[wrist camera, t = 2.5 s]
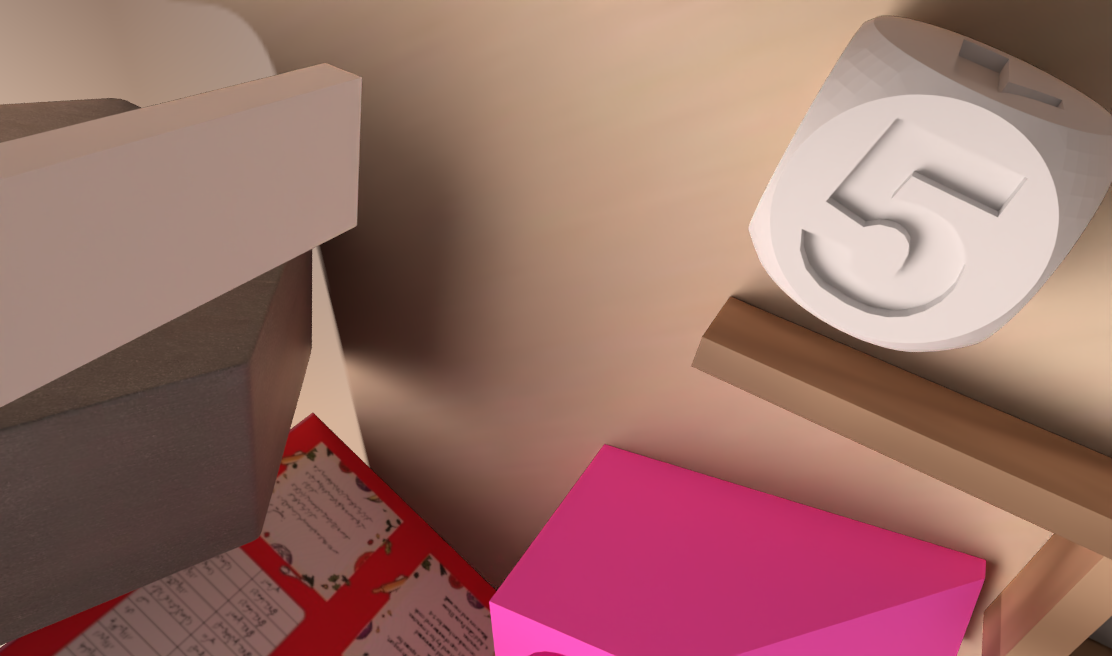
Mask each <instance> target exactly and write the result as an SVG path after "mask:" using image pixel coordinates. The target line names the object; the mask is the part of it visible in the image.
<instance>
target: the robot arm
mask: <svg viewBox="0 0 1112 656" xmlns="http://www.w3.org/2000/svg"><path fill="white" fill-rule="evenodd" d="M361 93H362V77H360V76H358V75H355V74H353V73H350V72H347V71H345V70H342V69H340V68H337V67H335V66H332V65H330V64H327V63H323V64H319V65H315V66H311V67H306V68H302V69H298V70H294V71H290V72H286V73H282V74H278V75H274V76H270V77H266V78H262V79H258V80H254V81H250V82H246V83H242V84H238V85H234V86H230V87H226V88H221V89H217V90H213V91H209V92H205V93H201V94H197V95H193V96H189V97H185V98H181V99H177V100H173V101H169V102H165V103H160V104H157V105H152V106H149V107H145V108H140V109H136V110H132V111H128V112H124V113H120V114H116V115H112V116H108V117H104V118H100V119H96V120H91V121H87V122H83V123H79V124H75V125H71V126H67V127H63V128H59V129H55V130H51V131H47V132H43V133H39V134H35V135H31V136H27V137H22V138H18V139H14V140H10V141H6V142H2V143H0V407H2V406H4V405H6V404H8V403H10V402H12V401H14V400H16V399H18V398H20V397H22V396H24V395H26V394H28V393H30V392H32V391H34V390H35V389H37V388H39V387H41V386H43V385H45V384H47V383H49V382H51V381H53V380H55V379H57V378H59V377H61V376H63V375H65V374H67V373H69V372H71V371H73V370H75V369H77V368H79V367H81V366H83V365H85V364H87V363H89V362H90V361H92V360H94V359H96V358H98V357H100V356H102V355H104V354H106V353H108V352H110V351H112V350H114V349H116V348H118V347H120V346H122V345H124V344H126V343H128V342H130V341H132V340H134V339H136V338H138V337H140V336H142V335H143V334H145V333H147V332H149V331H151V330H153V329H155V328H157V327H159V326H161V325H163V324H165V323H167V322H169V321H171V320H173V319H175V318H177V317H179V316H181V315H183V314H185V313H187V312H189V311H191V310H193V309H195V308H197V307H198V306H200V305H202V304H204V303H206V302H208V301H210V300H212V299H214V298H216V297H218V296H220V295H222V294H224V293H226V292H228V291H230V290H232V289H234V288H236V287H238V286H240V285H242V284H244V283H246V282H248V281H250V280H251V279H253V278H255V277H257V276H259V275H261V274H263V273H265V272H267V271H269V270H271V269H273V268H275V267H277V266H279V265H281V264H283V263H285V262H287V261H289V260H291V259H293V258H295V257H297V256H299V255H301V254H303V253H305V252H306V251H308V250H310V249H312V248H314V247H316V246H318V245H320V244H322V243H324V242H326V241H328V240H330V239H332V238H334V237H336V236H338V235H340V234H342V233H344V232H346V231H348V230H350V229H352V228H354V227H356V226H357V209H358V180H359V151H360V122H361Z"/></svg>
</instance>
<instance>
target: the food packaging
mask: <svg viewBox="0 0 1112 656" xmlns="http://www.w3.org/2000/svg"><path fill="white" fill-rule="evenodd" d="M495 593H496V590H495V589H494V588H493V587H492V586H490V585H489V584H488V583H487V582H486V581H485V580H484V579H483V578H482V577H481V576H480V575H479V574H478V573H477V572H476V571H475V570H474V569H473V568H472V567H471V566H470V565H469V564H468V563H467V562H466V561H465V560H464V559H463V558H462V557H461V556H460V555H459V554H458V553H457V552H456V551H455V550H454V549H453V548H451V547H450V546H449V545H448V544H447V543H446V542H445V541H444V540H443V539H442V538H441V537H440V536H439V535H438V534H437V533H436V532H435V531H434V530H433V529H432V528H431V527H430V526H429V525H428V524H427V523H426V522H425V521H424V520H423V519H422V518H421V517H420V516H419V515H418V514H417V513H416V512H415V511H413V510H412V509H411V508H410V507H409V506H408V505H407V504H406V503H405V502H404V501H403V500H402V499H401V498H400V497H399V496H398V495H397V494H396V493H395V492H394V491H393V490H392V489H391V488H390V487H389V486H388V485H387V484H386V483H385V482H384V481H383V480H382V479H381V478H380V477H379V476H378V475H377V474H376V473H374V472H373V471H372V470H371V469H370V468H369V467H368V466H367V465H366V464H365V463H364V462H363V461H362V460H361V459H360V458H359V457H358V456H357V455H356V454H355V453H354V452H353V451H352V450H351V449H350V448H349V447H348V446H347V445H346V444H344V442H343V441H342V440H341V439H339V438H338V436H336V435H335V434H334V433H333V432H332V431H331V430H330V429H329V428H328V427H327V426H326V425H325V424H324V423H323V422H322V421H321V420H320V419H319V418H318V417H317V416H316V415H315V414H314V413H312V414H310V415H309V416H308V417H306V418H305V419H304V420H302V421H301V422H300V423H299V424H297V425H296V426H294V427H293V428H292V429H290V431H289V434H288V438H287V442H286V445H285V449H284V453H283V456H282V460H281V463H280V467H279V471H278V474H277V478H276V482H275V485H274V489H273V493H272V496H271V500H270V503H269V507H268V511H267V514H266V518H265V522H264V525H263V528H262V532H261V534H260V536H259V538H257V539H256V540H254V541H252V542H250V543H247V544H245V545H242V546H240V547H238V548H235V549H233V550H230V551H228V552H225V553H223V554H221V555H218V556H216V557H213V558H211V559H209V560H206V561H204V562H201V563H199V564H196V565H194V566H192V567H189V568H187V569H184V570H182V571H179V572H177V573H175V574H172V575H170V576H167V577H165V578H163V579H160V580H158V581H155V582H153V583H150V584H148V585H146V586H143V587H141V588H138V589H136V590H133V591H131V592H129V593H126V594H124V595H121V596H119V597H117V598H114V599H112V600H109V601H107V602H104V603H102V604H100V605H97V606H95V607H92V608H90V609H87V610H85V611H83V612H80V613H78V614H75V615H73V616H71V617H68V618H66V619H63V620H61V621H58V622H56V623H54V624H51V625H49V626H46V627H44V628H41V629H39V630H37V631H34V632H32V633H29V634H27V635H25V636H22V637H20V638H17V639H15V640H12V641H10V642H8V643H6V644H5V645H3V646H2V647H1V648H0V656H495V649H494V640H493V631H492V622H491V613H490V604H489V601H490V600H491V598H492V597H493V596H494V594H495Z"/></svg>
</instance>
